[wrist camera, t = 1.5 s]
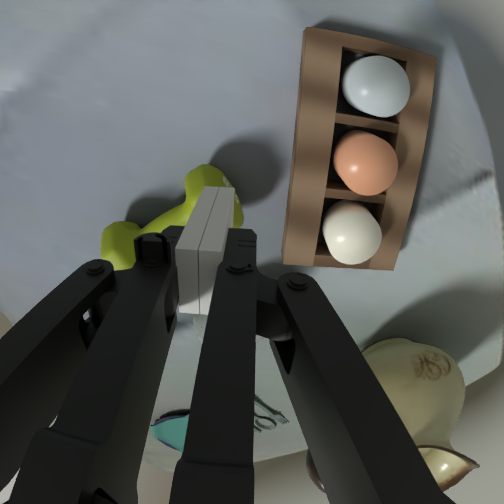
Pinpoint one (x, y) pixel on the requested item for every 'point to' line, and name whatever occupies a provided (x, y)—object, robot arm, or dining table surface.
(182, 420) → the cutlery set
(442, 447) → the pitcher
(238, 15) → the dining table surface
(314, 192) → the wooden compartment tray
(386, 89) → the grey button
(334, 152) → the terracotta button
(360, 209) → the cream button
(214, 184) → the dumbbell
